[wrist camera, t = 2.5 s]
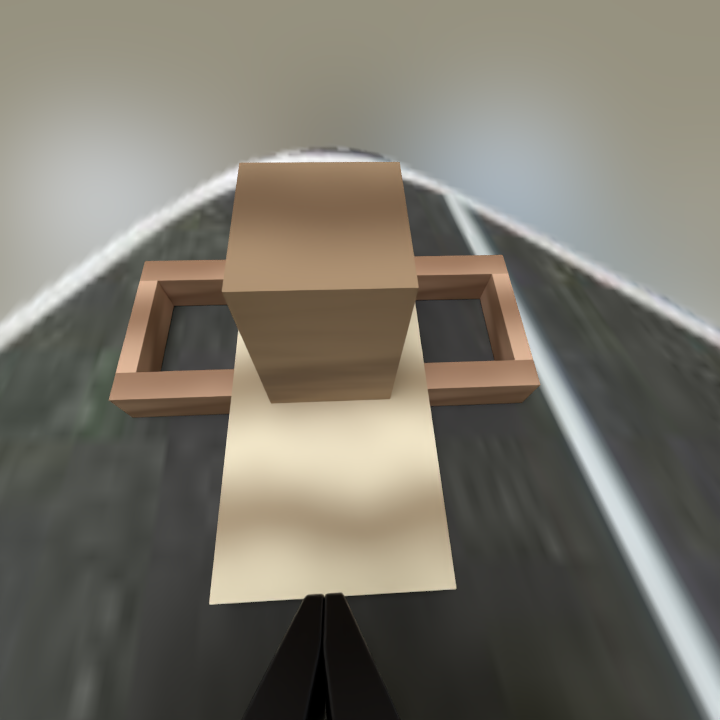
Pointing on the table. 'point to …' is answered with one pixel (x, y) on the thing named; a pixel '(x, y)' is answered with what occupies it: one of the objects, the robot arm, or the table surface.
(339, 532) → the track
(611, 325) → the table surface
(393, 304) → the walnut block
